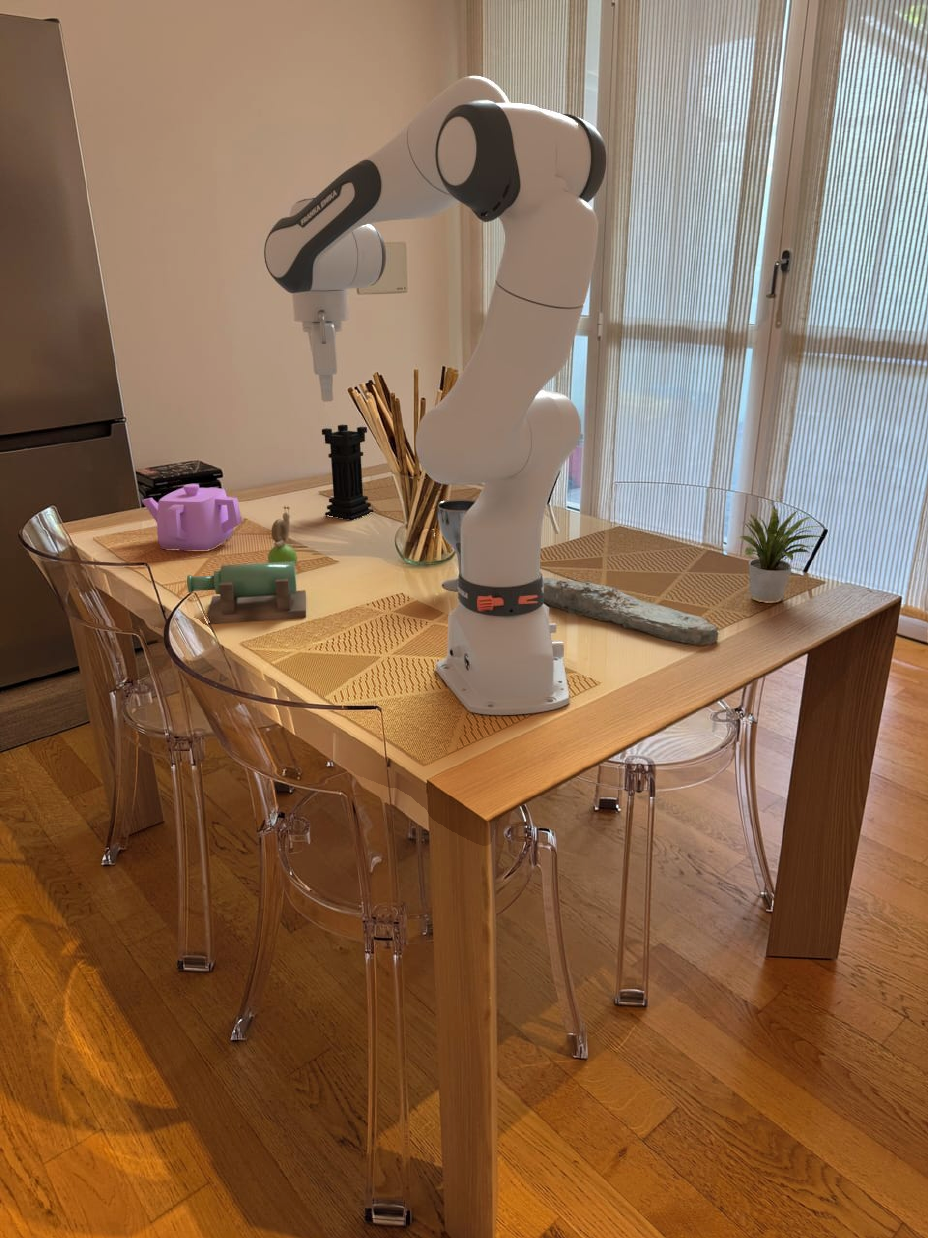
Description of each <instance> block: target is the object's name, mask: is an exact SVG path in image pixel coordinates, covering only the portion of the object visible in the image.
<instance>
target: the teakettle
mask: <svg viewBox="0 0 928 1238" xmlns="http://www.w3.org/2000/svg"><path fill="white" fill-rule="evenodd" d="M227 495H228V494H227V493H226V489H224V488H219V487H215V486H214V487H211V486H210V487H200V485H199V483H188V484H185V485H183V486H182V487H180V488H177V489H176V490H174V491H172V492H170V493H168V494H166V495H164V496H162V497H161V498H159V500H158V502H157V501H156V500H155V499H154V498H153V497H149V498H148V497H147V498H144V499H142V500H141V502H142V504H143V505H144V506H145V508H146V510H147V511H148V512H149V514H150V515H151V516H152V518H153V519H154V521H155V522H156V530H157V533H156V534H157V540H158V543H159V545H160V548H161V549H162V548H163V549H179V550H208V549H212V548H214V547H216V546H217V545H219V544H220V543H222V542H224V541H225V540H226V539H227V538H229V537H230V536H231V535H232V533H233V534H234V529H235V528H236V527H238V526H239V525H241V524H243V519H242V515H241V509H240V505H239V500H238V497H231V496H227ZM232 536H233V535H232ZM163 549H162V550H163Z"/></svg>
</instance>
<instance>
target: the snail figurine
mask: <svg viewBox="0 0 928 1238" xmlns="http://www.w3.org/2000/svg"><path fill="white" fill-rule="evenodd" d="M283 509H284V513H283V514H282V519H280V518H278V519H276V520H275V521H274V522H273V524H272V525H271V538H272V539H273V541H274V546H273V547H272V548H271V549H270V551H269V552H268V555H267V561H268V562H267V563H273V562H290V561H294V563H295V566H296V564H297V563H298V556H297V552H296V550H295V549H294V548H293V547H292V546H291V545H288V544H286V543H287V541H288V539H289V535H290V529H291V528H290V525H291V524H290V517H291V516H290V506H286V505H285V506H283ZM286 509H287V510H288V512H286Z"/></svg>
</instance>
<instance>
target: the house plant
mask: <svg viewBox="0 0 928 1238" xmlns="http://www.w3.org/2000/svg"><path fill="white" fill-rule="evenodd" d="M798 511H799V509H797V510H795V511H794V512H793V513H791V515H789V517H788V518H786V519H785V520H784V521H783V523H782V524H780V518H779V510H778V508H776V505H774V506H773V509H772V512H771V516H770V520H769V522H768V523H769V524H768V527H767V525H766V523H765V522H764V520H763V519H762V518H761V517H759V516H755V515H752V514H750V513H749V515H750V517H751V519H752V520H753V521H752V520H750V519H748V518H747V520H748V521H749V522H745V521H742V520H741V523H742V524H744V525H745V526H746V527H747V528H748V530H750V532H751V533H752V535H753V536H754V538H755V539H753V537H751V536H749V535H741V536H739V538H740V539H742V540H744V541H745V542H747V543H749V544H751V545H752V546H753V547H754V548H753V547H750V546H747V547H746V548H745V551H744V553H743V554H745V555H744V556H743V558H745V557H746V556H750V555H756V556H757V557H758V558H753V559H750V561H748V573H749V591H750V597H751V596H752V597H753V598H756V599H758V600H763V601H776V600H779V599H781V598H782V597H784V594H785V592H786V589H787V586H788V585H787V584H788V582H789V580H790V579H789V578H790V575H791V571H792V569H793V565H792V564H791V563H790V562H788V561H786V559H787V558H788V559H790V560H791V561H793V560H794V555H793V554H794V553H808V554H810V555H812V553H811V552H810V551H808V549H809V550H811V551H812V549H811V548H810V547H815V546H814V545H805V544H802V543H799V544H798V543H797V544H793V545H790V544H791V543H794V542H796V541H799V540H803V539H809V538H821V537H824V536H822V535H814V534H801V533H806V532H814V531H813V530H807V529H811V528H821V527H822V526H819V525H817V526H815V525H812V526H805V527H801V525H802V524H803V522H806V520H808V519H810V518H811V516H808V517H804V518H802V519H800V520H798V521H796V522H795V523H794V524H793V525H791V527H788V525H789V523H790V522H791V520H792V519H793V518H794V516H795V515H796V514H797V512H798ZM757 518H758V519H759V520H760V521H761V522H762V524H763V526H762V525H761V523H760V522H759V520H758V519H757ZM763 527H764V529H765V532H764V529H763ZM800 527H801V528H800ZM752 529H753V530H752ZM804 529H806V530H804ZM798 531H799V532H798ZM754 532H755V533H754ZM796 532H797V533H796ZM765 533H766V534H765ZM794 533H796V534H794ZM793 534H794V535H793ZM799 534H801V535H799ZM792 535H793V536H792ZM790 536H791V537H790ZM797 547H799V548H797ZM793 548H795V549H793ZM805 548H807V549H805ZM755 552H756V553H755ZM782 599H783V598H782Z"/></svg>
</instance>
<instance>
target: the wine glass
mask: <svg viewBox="0 0 928 1238" xmlns="http://www.w3.org/2000/svg"><path fill="white" fill-rule="evenodd" d="M476 500H477V499H476ZM476 500H475V499H467V498H466V499H465V498H459V499H458V498H456V499H448V500H447V499H446V500H443V501H440V502H439V503H437V520H438V525H439V529H440V534H441V535H442V537H443V539H444V540H445V541H446V543H448V545H450V547H452V549H453V550H454V552H455V554H456V557H457V563H458V574H459V573H460V572H461V523H462V520H463V517H464V515H465V514H466V512H467V511H468V510H469V509H470V507H471V506H472V505H473V504H474V503H475V502H476ZM457 583H458V577H457V578H450V579H449V578H448V579H447V580H444V581H443V582H442V583H441V587H442V588H443V589H444V590H448V591H451V592H458V589H457Z"/></svg>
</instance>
